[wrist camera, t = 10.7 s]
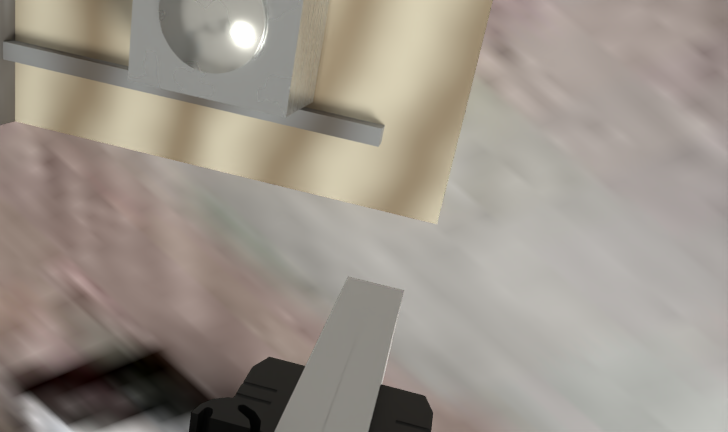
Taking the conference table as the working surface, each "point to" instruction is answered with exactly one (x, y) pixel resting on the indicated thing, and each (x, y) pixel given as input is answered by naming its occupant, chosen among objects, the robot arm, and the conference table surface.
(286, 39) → the grey dimpled block
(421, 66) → the base
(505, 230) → the conference table surface
